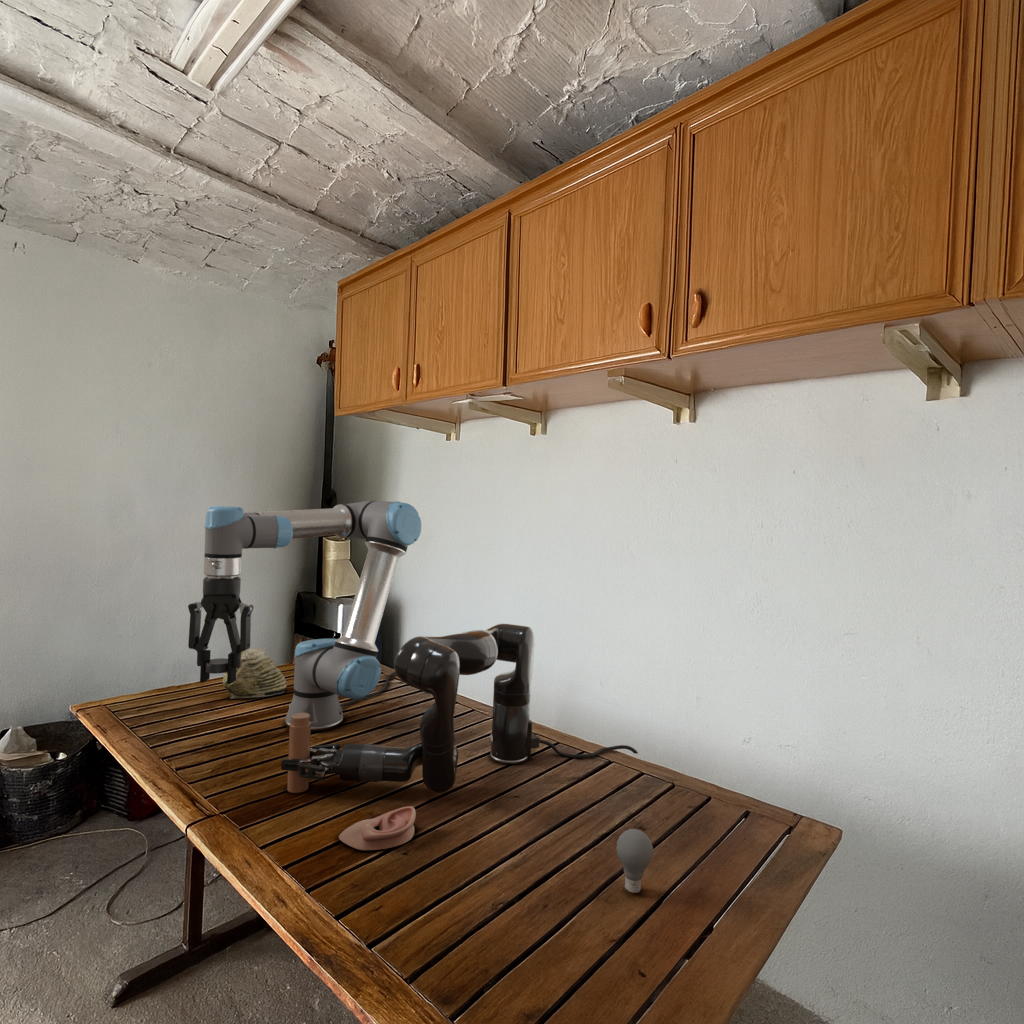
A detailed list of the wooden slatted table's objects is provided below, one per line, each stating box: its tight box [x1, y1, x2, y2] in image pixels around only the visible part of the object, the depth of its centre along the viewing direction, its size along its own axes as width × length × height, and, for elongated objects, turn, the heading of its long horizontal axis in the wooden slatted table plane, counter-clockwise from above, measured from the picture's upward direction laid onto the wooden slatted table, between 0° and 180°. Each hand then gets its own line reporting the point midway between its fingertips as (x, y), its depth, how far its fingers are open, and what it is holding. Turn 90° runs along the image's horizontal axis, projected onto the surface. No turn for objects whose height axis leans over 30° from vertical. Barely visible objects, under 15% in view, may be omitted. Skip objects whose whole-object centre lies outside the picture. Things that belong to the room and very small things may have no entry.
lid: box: [205, 658, 228, 674], centre depth 139 cm, size 5×5×2 cm
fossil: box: [222, 647, 288, 699], centre depth 198 cm, size 9×18×15 cm, turn 132°
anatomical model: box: [338, 805, 417, 851], centre depth 119 cm, size 13×4×12 cm
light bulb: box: [615, 828, 654, 894], centre depth 106 cm, size 6×6×10 cm
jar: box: [286, 713, 312, 794], centre depth 137 cm, size 4×4×16 cm
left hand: (218, 681), depth 139 cm, fingers closed on lid, 5 cm apart
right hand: (286, 759), depth 137 cm, fingers closed on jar, 4 cm apart
